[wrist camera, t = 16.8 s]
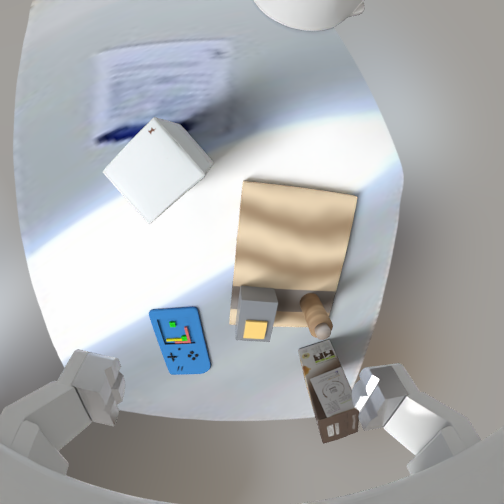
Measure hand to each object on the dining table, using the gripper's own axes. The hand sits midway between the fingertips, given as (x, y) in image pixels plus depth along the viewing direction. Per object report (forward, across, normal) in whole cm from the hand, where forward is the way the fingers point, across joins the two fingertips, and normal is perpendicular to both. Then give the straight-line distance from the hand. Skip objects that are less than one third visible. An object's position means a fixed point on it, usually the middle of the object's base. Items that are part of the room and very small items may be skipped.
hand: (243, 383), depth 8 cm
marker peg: (+30, -13, +15) cm, 36 cm away
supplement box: (+31, +8, -4) cm, 33 cm away
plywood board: (+31, -9, +9) cm, 34 cm away
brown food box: (+31, -18, +29) cm, 46 cm away
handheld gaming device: (+32, +7, +26) cm, 42 cm away
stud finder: (+30, -4, +16) cm, 34 cm away
